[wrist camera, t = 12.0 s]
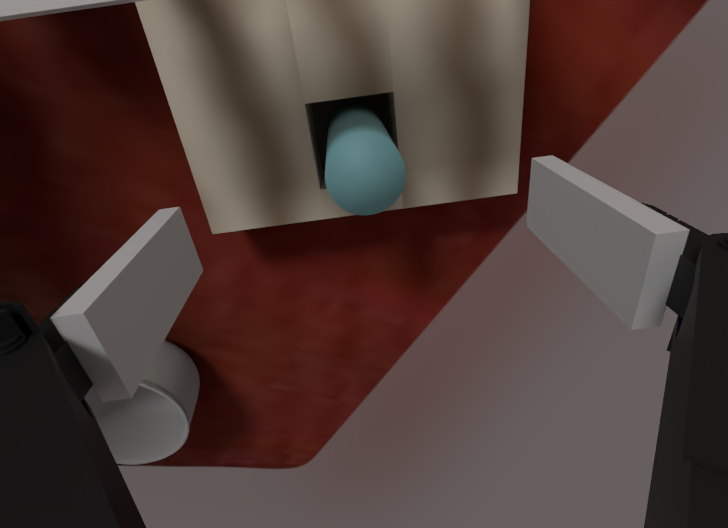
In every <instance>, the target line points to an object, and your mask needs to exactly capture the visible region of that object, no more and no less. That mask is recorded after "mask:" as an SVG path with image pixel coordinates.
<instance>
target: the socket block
mask: <svg viewBox="0 0 728 528" xmlns="http://www.w3.org/2000/svg"><path fill="white" fill-rule="evenodd" d="M135 4H136V7H137V10H138V13H139V16H140V19H141V22H142V25H143V28H144V31H145V34H146V37H147V40H148V43H149V46H150V49H151V52H152V55H153V58H154V61H155V64H156V67H157V70H158V73H159V76H160V79H161V82H162V85H163V88H164V91H165V94H166V97H167V100H168V103H169V106H170V109H171V112H172V115H173V118H174V121H175V124H176V126H177V129H178V132H179V135H180V138H181V141H182V144H183V147H184V150H185V153H186V156H187V159H188V162H189V165H190V168H191V171H192V174H193V177H194V180H195V183H196V186H197V189H198V192H199V195H200V198H201V201H202V204H203V207H204V210H205V213H206V216H207V219H208V222H209V225H210V228H211V231H212V234H217V233H225V232H232V231H240V230H247V229H255V228H262V227H270V226H277V225H284V224H292V223H299V222H307V221H314V220H322V219H329V218H337V217H344V216H352V215H356V214H352V213H349V212H347V211H345V210H343V209H342V208H340V207H339V206H338V205H337V204H336V203H335V202H334V201H333V200H332V198H331V197H330V195H329V193H328V191H327V188H326V184H325V164H326V151H327V138H328V126H329V121H330V118H331V116H332V114H333V113H334V112H335V110H336V109H337V108H339V107H340V106H341V105H343V104H346V103H349V102H361V103H364V104H366V105H368V106H370V107H371V108H372V109H373V110H374V111H375V112H376V113H377V115H378V116H379V118H380V120H381V122H382V123H383V125H384V127H385V129H386V130H387V132H388V134H389V136H390V137H391V139H392V141H393V143H394V144H395V146H396V148H397V150H398V151H399V153H400V155H401V157H402V159H403V161H404V165H405V170H406V180H405V185H404V188H403V191H402V193H401V195H400V196H399V198H398V199H397V200H396V202H395V203H394V204H393V205H391V206H390V207H389V208H387V209H386V210H384V211H389V210H397V209H404V208H411V207H419V206H426V205H434V204H441V203H449V202H456V201H464V200H471V199H479V198H486V197H494V196H501V195H509V194H516V193H517V189H518V174H519V159H520V144H521V129H522V114H523V99H524V84H525V69H526V54H527V39H528V24H529V9H530V0H146V1H139V2H135Z"/></svg>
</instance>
